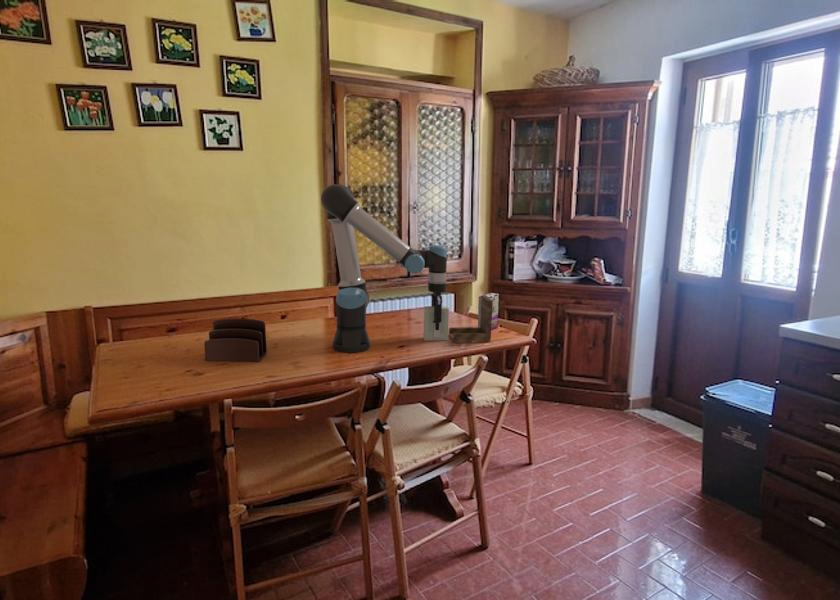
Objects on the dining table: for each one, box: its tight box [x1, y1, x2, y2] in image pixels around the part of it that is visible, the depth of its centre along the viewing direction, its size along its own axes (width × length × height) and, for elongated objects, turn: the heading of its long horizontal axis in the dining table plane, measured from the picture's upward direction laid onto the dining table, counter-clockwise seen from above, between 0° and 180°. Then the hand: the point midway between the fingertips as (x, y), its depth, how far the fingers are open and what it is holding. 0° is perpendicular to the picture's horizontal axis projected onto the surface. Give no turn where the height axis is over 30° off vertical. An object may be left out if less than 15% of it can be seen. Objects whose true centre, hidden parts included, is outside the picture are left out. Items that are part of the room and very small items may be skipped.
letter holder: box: [203, 317, 268, 363], centre depth 188 cm, size 10×20×14 cm, turn 90°
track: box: [448, 295, 493, 343], centre depth 220 cm, size 16×11×18 cm
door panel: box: [422, 305, 450, 342], centre depth 218 cm, size 10×4×14 cm, turn 97°
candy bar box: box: [477, 292, 500, 331], centre depth 236 cm, size 11×5×16 cm, turn 143°
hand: (435, 335), depth 219 cm, fingers closed on door panel, 4 cm apart
